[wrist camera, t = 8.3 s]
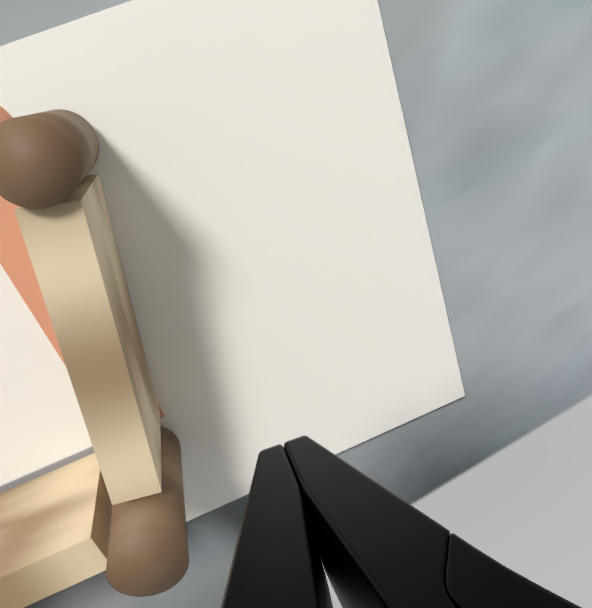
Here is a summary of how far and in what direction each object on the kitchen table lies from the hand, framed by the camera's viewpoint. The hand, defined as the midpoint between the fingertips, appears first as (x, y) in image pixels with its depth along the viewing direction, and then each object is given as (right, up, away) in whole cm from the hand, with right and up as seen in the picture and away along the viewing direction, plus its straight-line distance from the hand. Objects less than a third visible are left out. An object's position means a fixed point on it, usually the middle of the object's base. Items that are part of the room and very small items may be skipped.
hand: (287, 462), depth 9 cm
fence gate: (-6, +2, +9) cm, 12 cm away
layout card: (-6, +2, +10) cm, 12 cm away
